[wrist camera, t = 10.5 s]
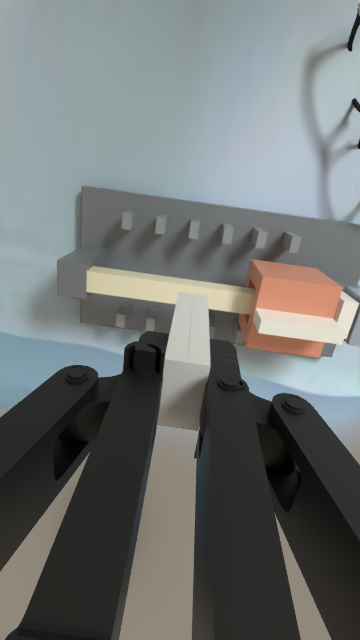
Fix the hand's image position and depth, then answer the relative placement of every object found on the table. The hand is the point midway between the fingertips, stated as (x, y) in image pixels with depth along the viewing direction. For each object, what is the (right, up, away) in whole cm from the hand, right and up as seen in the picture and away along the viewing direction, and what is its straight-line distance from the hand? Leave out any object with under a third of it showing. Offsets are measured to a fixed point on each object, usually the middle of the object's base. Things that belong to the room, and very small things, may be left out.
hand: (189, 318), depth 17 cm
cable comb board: (+3, +5, +18) cm, 19 cm away
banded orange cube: (+9, +2, +14) cm, 17 cm away
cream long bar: (+4, +3, +13) cm, 14 cm away
